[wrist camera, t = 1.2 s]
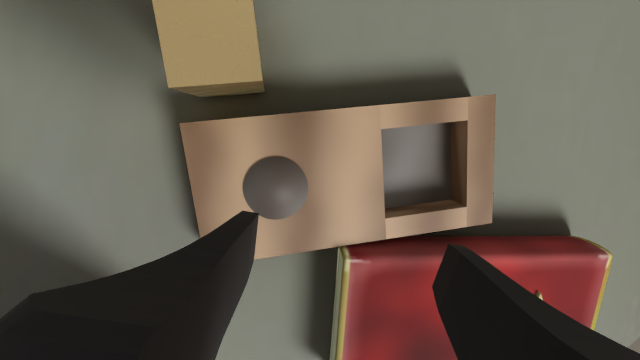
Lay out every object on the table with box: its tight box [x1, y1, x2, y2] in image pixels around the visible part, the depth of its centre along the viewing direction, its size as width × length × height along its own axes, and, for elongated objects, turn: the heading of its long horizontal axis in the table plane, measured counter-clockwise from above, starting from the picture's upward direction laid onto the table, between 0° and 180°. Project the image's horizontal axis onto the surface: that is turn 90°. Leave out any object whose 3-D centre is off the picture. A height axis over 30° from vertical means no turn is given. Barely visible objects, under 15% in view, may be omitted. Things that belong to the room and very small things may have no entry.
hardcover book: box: [330, 236, 613, 360], centre depth 25 cm, size 12×21×4 cm, turn 86°
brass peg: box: [152, 0, 264, 97], centre depth 17 cm, size 4×4×7 cm
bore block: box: [179, 94, 496, 259], centre depth 21 cm, size 20×9×3 cm, turn 95°
